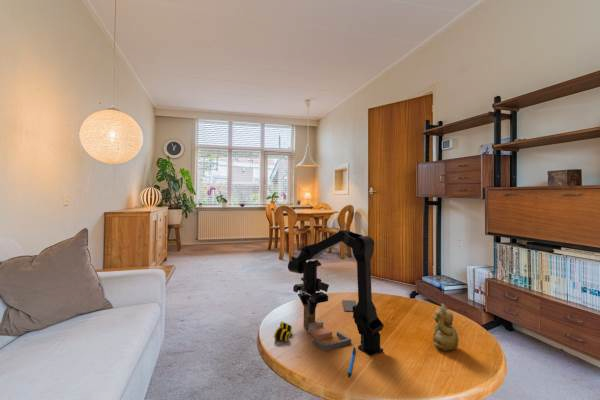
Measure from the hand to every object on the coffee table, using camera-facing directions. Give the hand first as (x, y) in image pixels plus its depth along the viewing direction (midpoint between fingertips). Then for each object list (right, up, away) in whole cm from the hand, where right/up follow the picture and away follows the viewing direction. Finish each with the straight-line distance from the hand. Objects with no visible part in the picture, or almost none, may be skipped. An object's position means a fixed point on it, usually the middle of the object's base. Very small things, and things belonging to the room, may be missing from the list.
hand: (309, 313), depth 126 cm
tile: (+4, -6, -7) cm, 10 cm away
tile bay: (+8, -6, -14) cm, 17 cm away
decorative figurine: (+49, -7, -16) cm, 52 cm away
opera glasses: (-10, -6, -9) cm, 15 cm away
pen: (+13, -6, -27) cm, 30 cm away
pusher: (+1, -6, -2) cm, 6 cm away
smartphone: (+21, -7, +25) cm, 34 cm away
